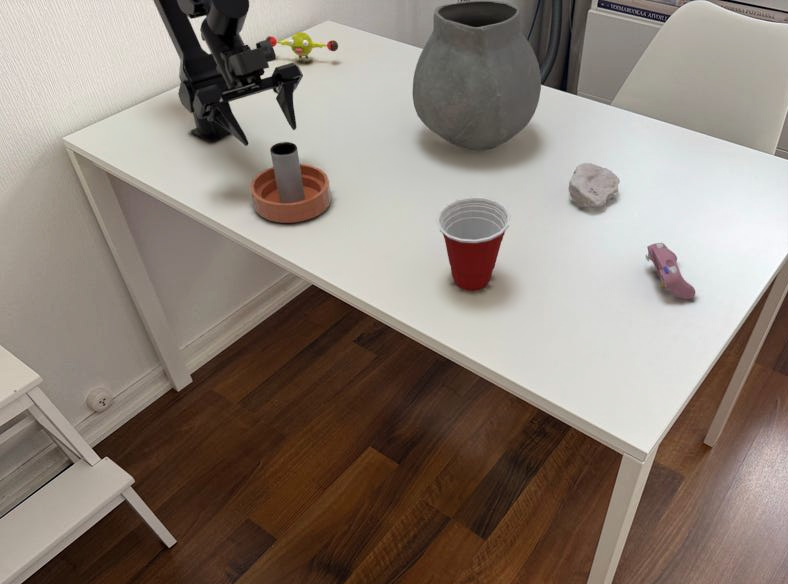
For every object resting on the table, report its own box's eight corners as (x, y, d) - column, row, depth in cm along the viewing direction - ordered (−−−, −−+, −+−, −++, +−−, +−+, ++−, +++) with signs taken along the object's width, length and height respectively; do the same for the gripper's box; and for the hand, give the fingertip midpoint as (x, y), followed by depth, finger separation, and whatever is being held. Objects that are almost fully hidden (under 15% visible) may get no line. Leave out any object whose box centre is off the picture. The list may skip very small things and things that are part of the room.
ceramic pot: (496, 103, 148) (506, -22, 130) (556, 153, 133) (576, 20, 115) (395, 125, 141) (390, -3, 123) (446, 181, 126) (449, 43, 108)
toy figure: (264, 64, 163) (259, 35, 158) (272, 55, 167) (267, 26, 162) (336, 69, 161) (333, 39, 156) (342, 59, 165) (339, 31, 160)
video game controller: (649, 270, 110) (638, 240, 105) (676, 259, 108) (667, 227, 104) (668, 310, 103) (658, 280, 98) (698, 299, 102) (689, 267, 97)
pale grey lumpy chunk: (627, 175, 122) (616, 180, 113) (613, 209, 125) (601, 216, 116) (582, 159, 124) (568, 162, 116) (570, 193, 127) (555, 199, 119)
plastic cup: (425, 269, 107) (424, 204, 99) (485, 252, 110) (489, 189, 102) (453, 310, 101) (455, 245, 92) (516, 291, 104) (524, 227, 95)
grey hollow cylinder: (300, 209, 118) (291, 156, 111) (276, 206, 119) (265, 153, 112) (308, 195, 122) (300, 143, 114) (285, 192, 122) (275, 140, 115)
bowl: (238, 207, 120) (234, 187, 117) (292, 175, 127) (289, 155, 124) (293, 234, 114) (289, 214, 111) (346, 198, 122) (344, 179, 119)
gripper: (181, 39, 102) (229, 134, 104) (289, 12, 110) (331, 101, 112) (174, 73, 112) (218, 160, 114) (274, 47, 120) (313, 128, 122)
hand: (271, 136), depth 115 cm, fingers open, 9 cm apart
